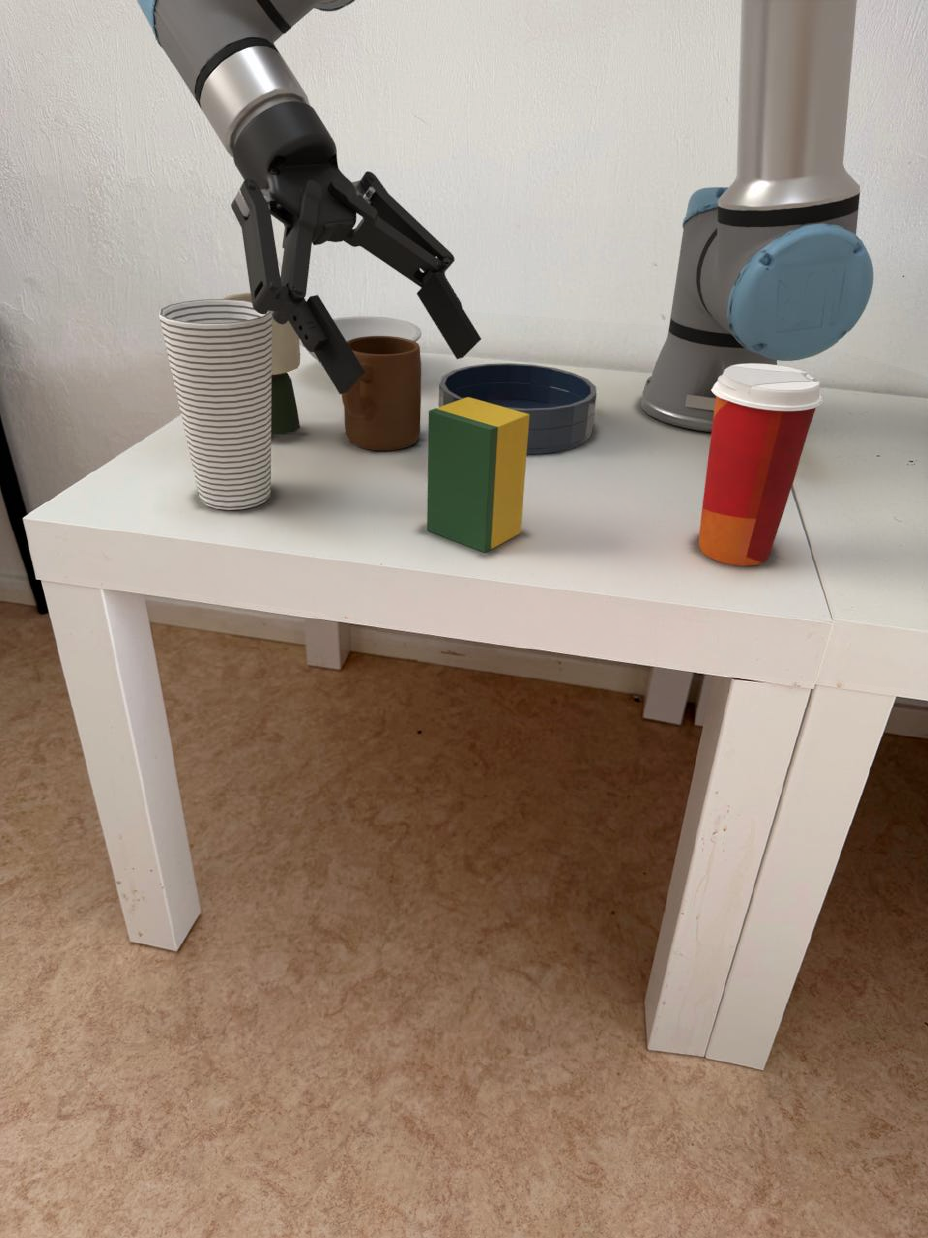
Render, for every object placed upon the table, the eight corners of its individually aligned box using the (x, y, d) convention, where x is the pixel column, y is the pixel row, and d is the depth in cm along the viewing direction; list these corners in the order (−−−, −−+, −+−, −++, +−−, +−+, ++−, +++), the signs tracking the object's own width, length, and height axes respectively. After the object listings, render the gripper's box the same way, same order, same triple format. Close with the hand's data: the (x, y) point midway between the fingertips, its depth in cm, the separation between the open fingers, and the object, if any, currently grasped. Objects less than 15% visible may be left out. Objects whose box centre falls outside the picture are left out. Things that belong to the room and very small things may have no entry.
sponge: (463, 512, 75) (468, 396, 70) (520, 533, 72) (529, 413, 67) (426, 530, 72) (428, 410, 67) (484, 553, 69) (491, 429, 64)
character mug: (259, 412, 95) (248, 285, 89) (321, 419, 94) (315, 291, 87) (211, 446, 86) (195, 308, 80) (280, 455, 85) (269, 315, 78)
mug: (386, 473, 82) (385, 371, 77) (312, 461, 84) (306, 361, 79) (431, 432, 92) (432, 339, 87) (363, 422, 94) (361, 331, 89)
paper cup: (764, 529, 75) (803, 362, 67) (797, 573, 68) (844, 393, 61) (673, 528, 74) (702, 359, 67) (696, 571, 68) (731, 390, 60)
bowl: (535, 395, 104) (538, 356, 102) (622, 439, 92) (628, 397, 90) (412, 414, 97) (412, 373, 94) (490, 464, 85) (492, 419, 83)
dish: (389, 402, 100) (388, 357, 97) (273, 387, 103) (270, 343, 101) (439, 362, 114) (439, 322, 112) (336, 350, 118) (334, 311, 115)
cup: (271, 472, 81) (257, 295, 73) (297, 508, 75) (285, 319, 67) (176, 485, 78) (150, 301, 70) (195, 523, 72) (168, 327, 64)
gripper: (361, 162, 80) (484, 361, 80) (115, 175, 64) (270, 428, 63) (405, 96, 75) (536, 311, 75) (148, 92, 58) (318, 369, 58)
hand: (415, 365), depth 69 cm, fingers open, 13 cm apart
